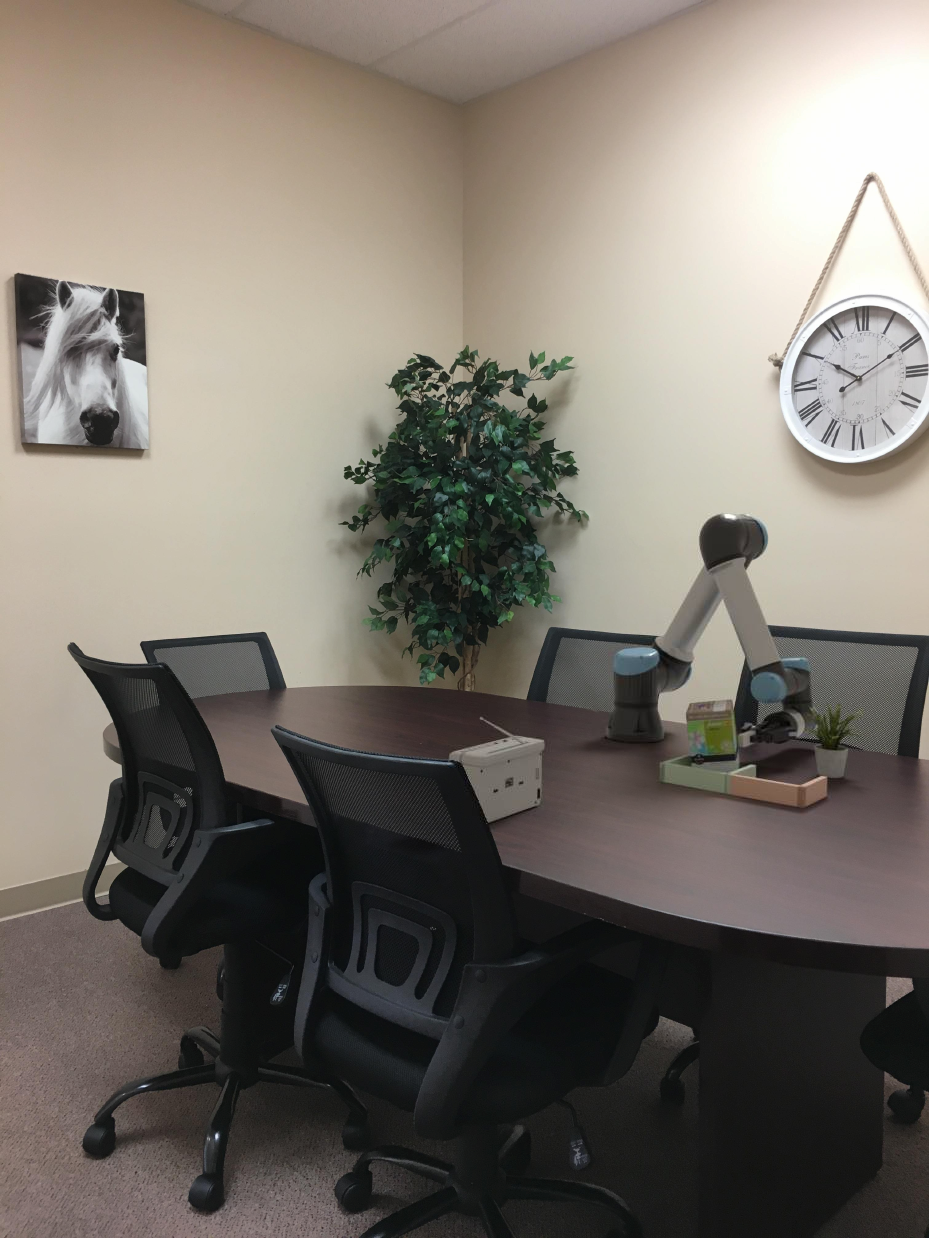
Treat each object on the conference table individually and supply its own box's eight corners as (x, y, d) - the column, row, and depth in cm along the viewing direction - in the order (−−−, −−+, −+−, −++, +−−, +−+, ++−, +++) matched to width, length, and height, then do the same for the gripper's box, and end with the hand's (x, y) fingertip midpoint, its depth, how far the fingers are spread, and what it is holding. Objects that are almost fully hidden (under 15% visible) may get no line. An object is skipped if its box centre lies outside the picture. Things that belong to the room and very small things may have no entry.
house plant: (874, 785, 201) (877, 709, 200) (806, 782, 204) (808, 707, 202) (860, 770, 215) (863, 699, 214) (796, 767, 218) (798, 697, 216)
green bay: (659, 781, 205) (659, 762, 205) (686, 771, 214) (687, 754, 213) (730, 794, 194) (730, 775, 194) (755, 783, 202) (756, 765, 202)
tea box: (740, 776, 203) (731, 708, 202) (692, 780, 206) (683, 713, 205) (740, 761, 217) (732, 697, 217) (696, 764, 220) (687, 701, 220)
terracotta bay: (730, 794, 194) (730, 775, 194) (755, 783, 202) (756, 765, 202) (803, 807, 184) (803, 787, 183) (826, 796, 192) (827, 776, 192)
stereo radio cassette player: (513, 798, 191) (513, 700, 189) (547, 805, 186) (548, 704, 184) (446, 821, 175) (445, 714, 173) (481, 830, 170) (481, 719, 168)
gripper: (809, 744, 226) (768, 761, 208) (757, 738, 234) (713, 754, 216) (809, 713, 225) (768, 727, 207) (757, 708, 233) (713, 721, 216)
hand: (740, 741), depth 212 cm, fingers closed
